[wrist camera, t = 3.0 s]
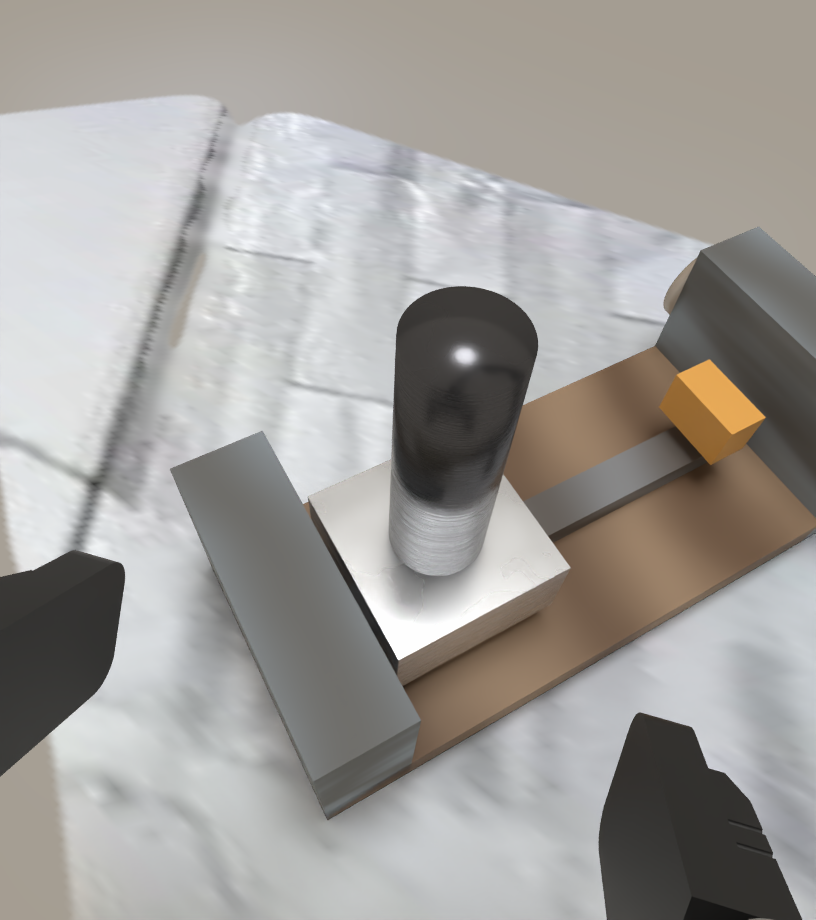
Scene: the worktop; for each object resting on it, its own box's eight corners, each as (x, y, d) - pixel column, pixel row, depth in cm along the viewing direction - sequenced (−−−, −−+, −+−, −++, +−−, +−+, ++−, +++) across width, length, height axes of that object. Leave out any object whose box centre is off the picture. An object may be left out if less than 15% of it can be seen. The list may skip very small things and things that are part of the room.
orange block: (690, 392, 30) (709, 359, 28) (742, 448, 28) (766, 417, 27) (658, 407, 29) (676, 374, 28) (710, 465, 28) (732, 434, 26)
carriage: (459, 470, 28) (508, 210, 18) (551, 604, 26) (668, 385, 15) (314, 538, 27) (277, 292, 16) (395, 689, 24) (412, 506, 14)
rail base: (693, 336, 36) (757, 218, 30) (859, 507, 31) (973, 405, 25) (207, 557, 29) (165, 459, 23) (327, 820, 24) (312, 781, 18)
